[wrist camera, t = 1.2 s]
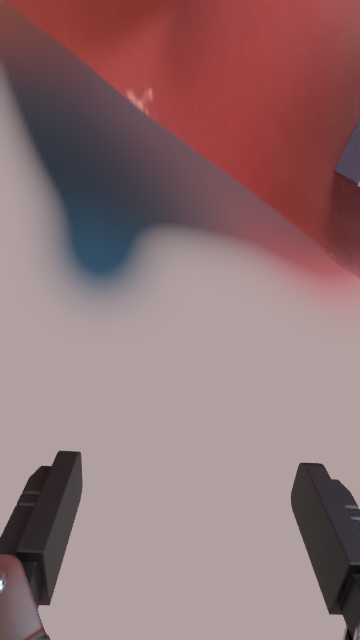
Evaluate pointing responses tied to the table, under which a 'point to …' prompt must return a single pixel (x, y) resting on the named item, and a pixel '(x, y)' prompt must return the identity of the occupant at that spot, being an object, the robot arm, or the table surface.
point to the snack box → (351, 158)
